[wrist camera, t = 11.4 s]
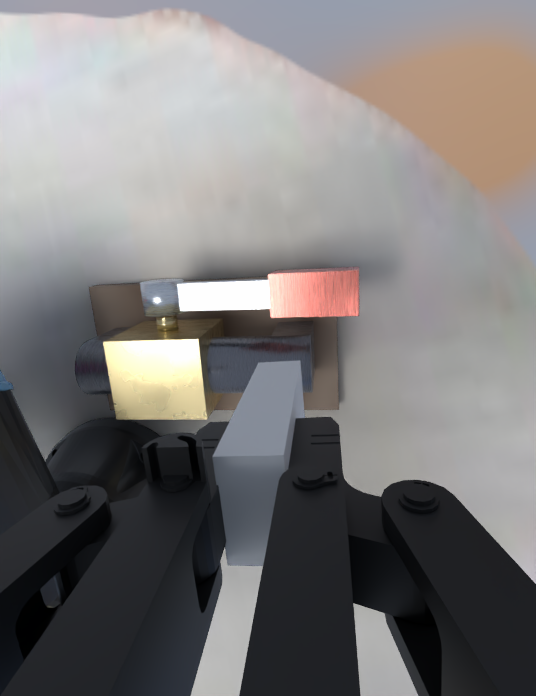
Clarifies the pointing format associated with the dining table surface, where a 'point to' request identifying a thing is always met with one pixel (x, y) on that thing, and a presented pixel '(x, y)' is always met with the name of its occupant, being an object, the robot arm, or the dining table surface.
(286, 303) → the valve lever
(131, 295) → the base board
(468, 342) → the dining table surface
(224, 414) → the dining table surface
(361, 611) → the dining table surface
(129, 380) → the valve pipe
